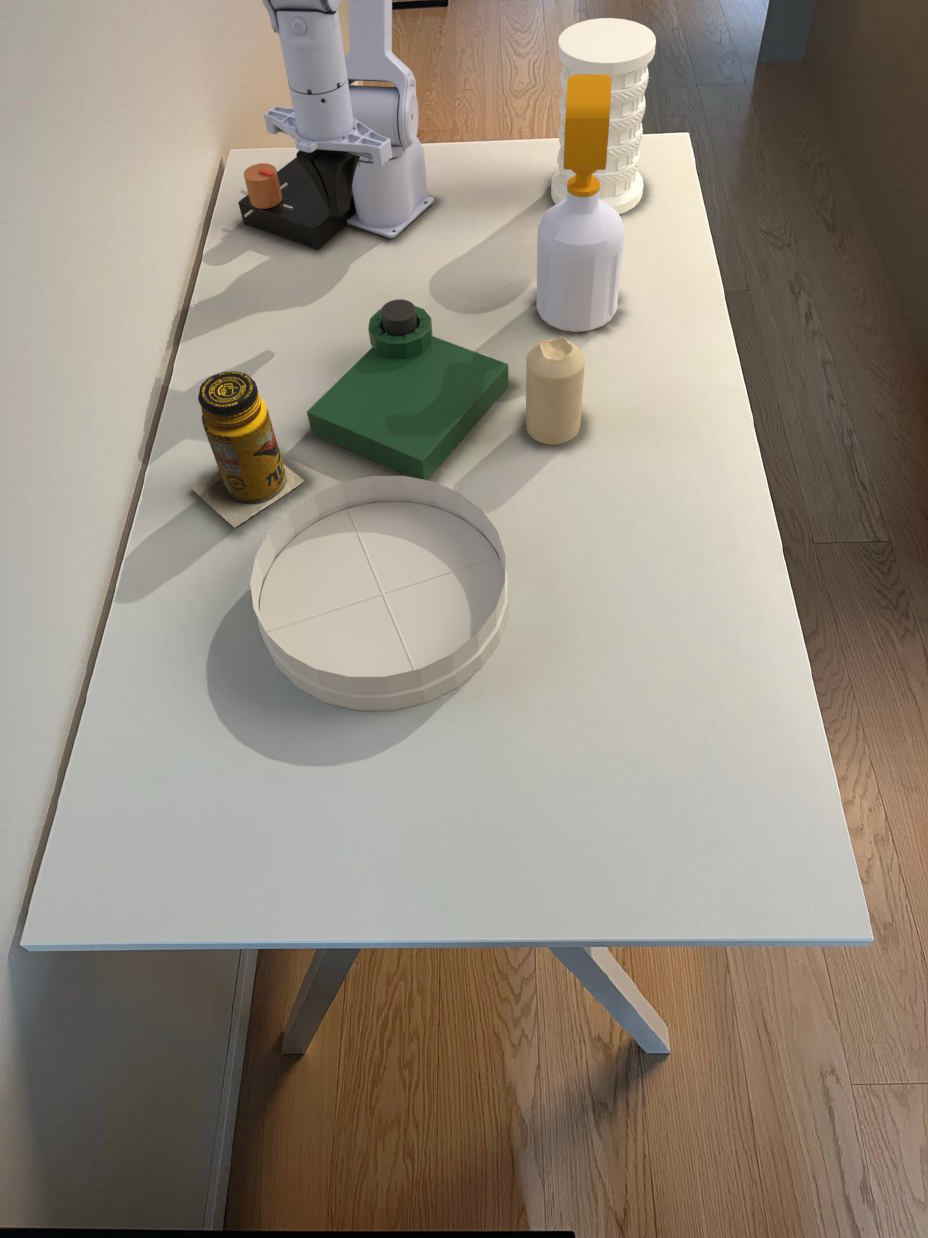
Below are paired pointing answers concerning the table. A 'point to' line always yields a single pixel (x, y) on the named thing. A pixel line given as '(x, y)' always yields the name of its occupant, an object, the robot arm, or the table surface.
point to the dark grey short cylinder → (399, 318)
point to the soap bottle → (581, 221)
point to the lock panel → (297, 210)
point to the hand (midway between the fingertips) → (339, 211)
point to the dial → (263, 185)
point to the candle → (554, 391)
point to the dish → (381, 592)
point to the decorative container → (625, 60)
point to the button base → (409, 399)
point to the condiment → (241, 449)
